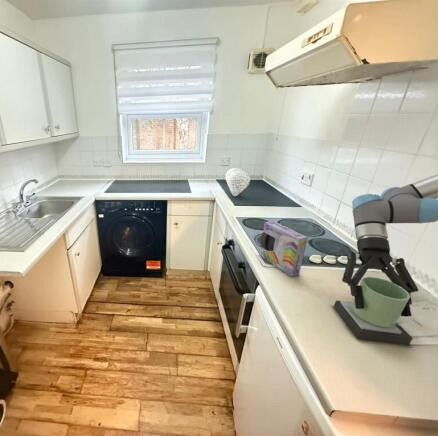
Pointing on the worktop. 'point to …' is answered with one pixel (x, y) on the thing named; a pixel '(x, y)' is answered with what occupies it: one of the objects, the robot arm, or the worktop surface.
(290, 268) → the cake pan box
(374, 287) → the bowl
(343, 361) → the worktop surface
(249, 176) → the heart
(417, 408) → the worktop surface
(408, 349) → the worktop surface
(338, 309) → the scale
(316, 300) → the worktop surface
